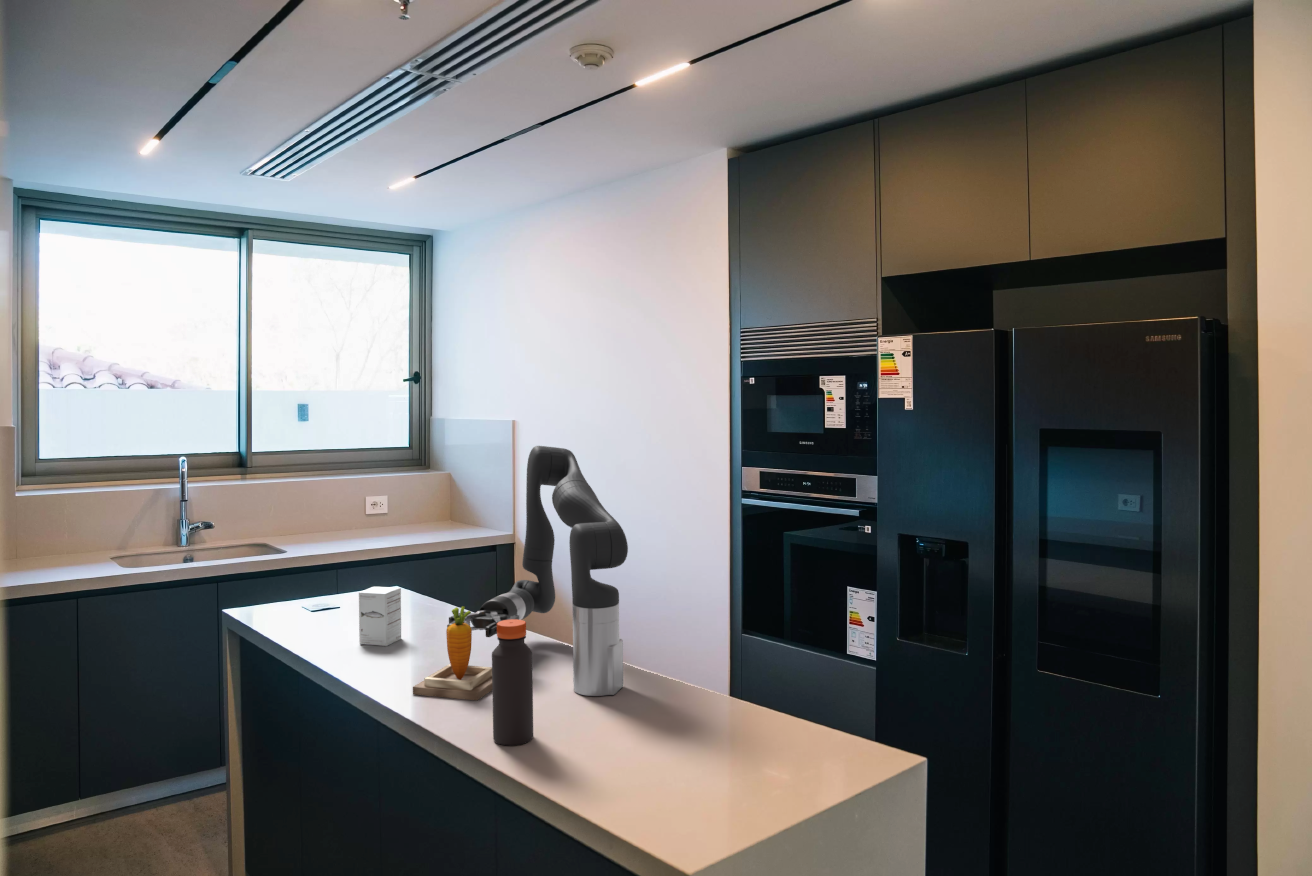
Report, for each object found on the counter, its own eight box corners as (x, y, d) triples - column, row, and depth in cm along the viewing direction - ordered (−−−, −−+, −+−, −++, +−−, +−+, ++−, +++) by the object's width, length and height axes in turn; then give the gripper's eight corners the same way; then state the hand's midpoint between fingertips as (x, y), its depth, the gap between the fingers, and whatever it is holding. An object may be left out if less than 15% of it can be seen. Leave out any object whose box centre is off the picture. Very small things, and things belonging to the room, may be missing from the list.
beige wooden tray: (504, 681, 184) (504, 666, 184) (477, 700, 172) (477, 684, 172) (443, 675, 188) (443, 661, 188) (412, 694, 176) (412, 679, 176)
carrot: (461, 674, 184) (460, 601, 183) (477, 679, 181) (476, 605, 180) (441, 680, 180) (440, 606, 179) (457, 685, 177) (456, 610, 176)
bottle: (528, 729, 157) (526, 616, 156) (537, 742, 151) (535, 625, 150) (489, 734, 155) (487, 620, 154) (497, 749, 148) (495, 629, 148)
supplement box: (358, 645, 212) (357, 592, 211) (375, 636, 219) (374, 585, 219) (386, 646, 210) (385, 593, 210) (402, 638, 217) (401, 586, 217)
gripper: (473, 594, 201) (436, 610, 185) (532, 597, 197) (499, 614, 181) (474, 627, 201) (437, 646, 185) (532, 631, 197) (500, 651, 182)
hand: (468, 631), depth 183 cm, fingers open, 8 cm apart
